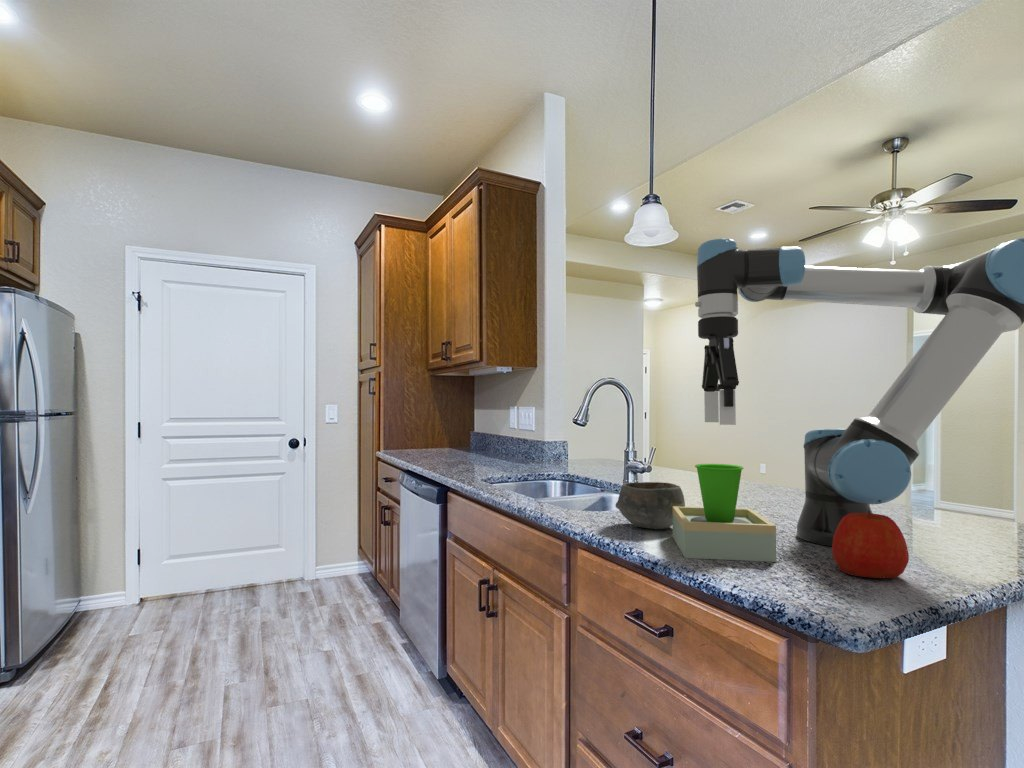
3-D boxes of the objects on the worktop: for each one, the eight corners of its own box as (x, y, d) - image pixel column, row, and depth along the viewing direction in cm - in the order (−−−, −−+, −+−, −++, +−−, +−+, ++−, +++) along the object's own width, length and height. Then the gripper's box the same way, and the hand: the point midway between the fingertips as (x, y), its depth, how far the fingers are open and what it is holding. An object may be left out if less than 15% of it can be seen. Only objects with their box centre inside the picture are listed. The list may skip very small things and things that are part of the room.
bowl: (693, 535, 117) (692, 489, 117) (622, 534, 117) (622, 488, 117) (674, 521, 131) (674, 480, 131) (611, 520, 131) (611, 479, 131)
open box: (751, 539, 113) (750, 508, 113) (776, 561, 97) (775, 525, 97) (672, 536, 115) (672, 506, 116) (684, 557, 99) (684, 522, 100)
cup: (749, 528, 101) (748, 469, 101) (698, 525, 103) (698, 468, 103) (738, 518, 110) (738, 464, 110) (692, 516, 112) (692, 463, 112)
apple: (881, 589, 83) (879, 519, 83) (816, 569, 93) (815, 507, 93) (923, 580, 87) (922, 514, 88) (857, 562, 97) (856, 503, 98)
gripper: (687, 327, 121) (688, 421, 120) (711, 307, 96) (713, 425, 95) (722, 326, 120) (723, 421, 119) (755, 306, 95) (758, 425, 94)
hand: (719, 423), depth 107 cm, fingers open, 13 cm apart
